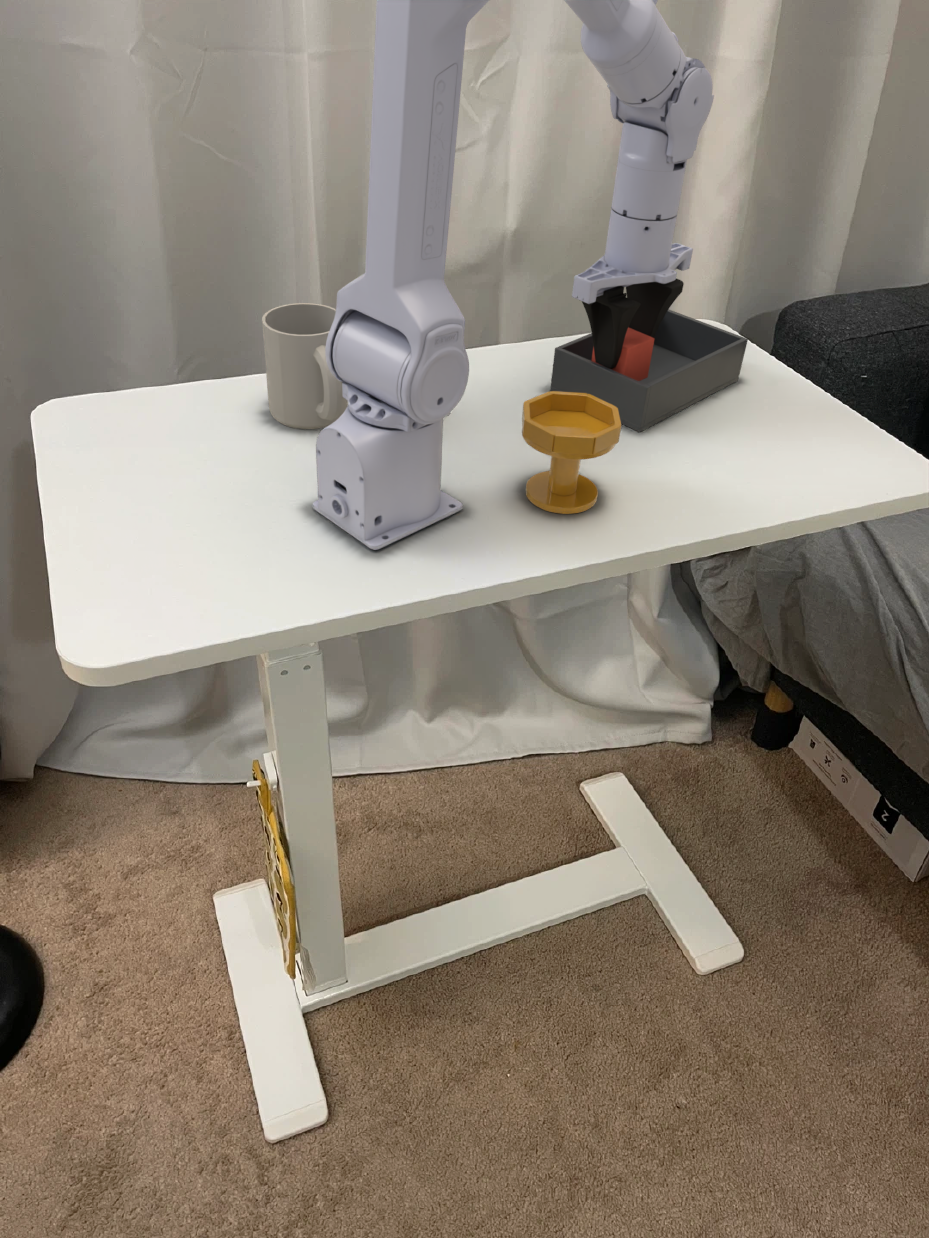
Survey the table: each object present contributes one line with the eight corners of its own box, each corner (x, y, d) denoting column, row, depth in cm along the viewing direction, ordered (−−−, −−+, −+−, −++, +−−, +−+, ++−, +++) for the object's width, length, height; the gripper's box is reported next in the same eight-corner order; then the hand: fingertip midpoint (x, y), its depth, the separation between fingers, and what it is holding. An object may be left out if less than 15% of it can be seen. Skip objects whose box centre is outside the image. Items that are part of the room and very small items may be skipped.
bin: (639, 432, 93) (647, 387, 90) (549, 391, 99) (554, 348, 96) (738, 380, 103) (748, 338, 100) (651, 345, 108) (658, 305, 106)
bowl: (564, 530, 79) (576, 447, 75) (497, 490, 84) (504, 409, 79) (625, 498, 84) (639, 417, 79) (558, 462, 88) (567, 383, 83)
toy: (621, 389, 94) (628, 349, 91) (589, 374, 96) (594, 334, 93) (647, 377, 96) (655, 338, 93) (615, 363, 98) (621, 324, 96)
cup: (327, 388, 97) (324, 298, 91) (374, 434, 90) (374, 340, 84) (257, 403, 94) (249, 310, 88) (300, 451, 87) (294, 354, 81)
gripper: (627, 239, 80) (603, 395, 89) (731, 207, 88) (700, 353, 97) (561, 216, 84) (545, 367, 92) (667, 188, 92) (643, 329, 101)
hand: (620, 358), depth 95 cm, fingers closed on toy, 4 cm apart
